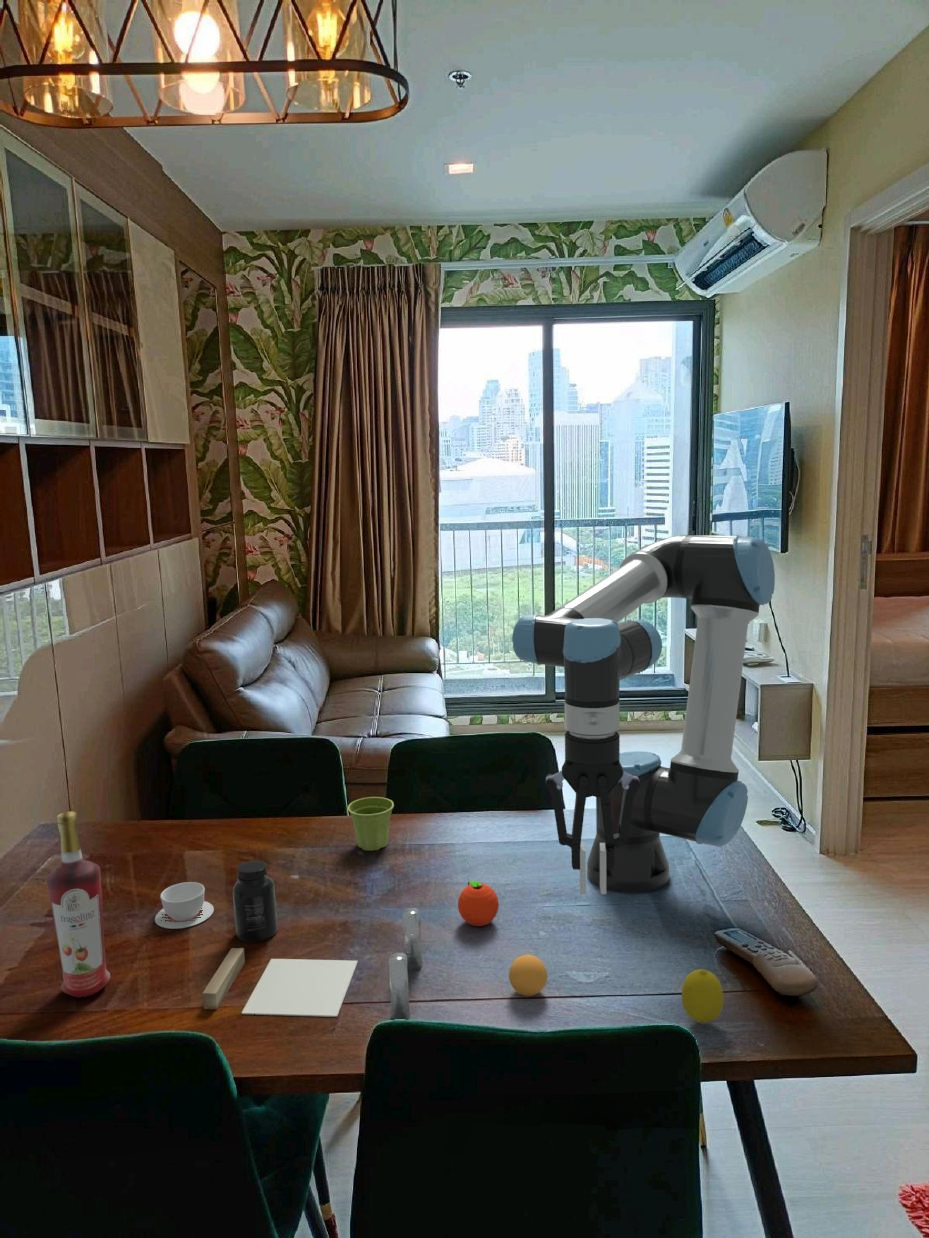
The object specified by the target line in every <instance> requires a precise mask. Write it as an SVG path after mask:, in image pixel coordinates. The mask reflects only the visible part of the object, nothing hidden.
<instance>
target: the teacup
mask: <svg viewBox="0 0 929 1238" xmlns="http://www.w3.org/2000/svg"><path fill="white" fill-rule="evenodd" d="M205 891H206V889H205V886H204V885H203V884H202V883H199V882H195V881H193V882H192V881H187V882H185V881H184V882H180V883H176V884H173V885H170V886H168V887H167V888H165V889H164V890H163V891H162V892H160V895H159V896H160V897H159V898H160V901H161V905H162V907H163V908H161V909H160V910H159V911H158V912H157V913H156V914H155V917H154V922H155V924H156V925H157V926H159V927H161V928H165V929H173V930H174V929H176V930H177V929H186V928H189V927H193V926H196V925H199V924H201V923H203V922H204V921H206V920H208V919H209V918H210V917H211V916H212V914H214V911H215V910H214V909H215V908H214V905H213V904H211V903H210V902H209V901H205ZM201 908H202V909H201ZM200 910H203V911H202V913H200V914H203V915H200V916H196V915H197V914H198V913H199V911H200ZM162 914H163V915H162ZM165 914H167V915H168V916H169V917H171V918H172V919H173V920H176V921H180V922H169V921H166V922H165V920H170V919H168V918H167V919H166V918H162V917H168V916H165ZM195 916H196V917H201V918H196V919H192V918H193V917H195ZM172 919H171V920H172ZM161 920H162V921H161ZM185 920H188V921H186V922H185ZM189 920H193V921H189ZM194 920H195V921H194ZM181 921H182V922H181ZM183 921H184V922H183Z"/></svg>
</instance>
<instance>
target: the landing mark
mask: <svg viewBox="0 0 929 1238" xmlns="http://www.w3.org/2000/svg"><path fill="white" fill-rule="evenodd" d="M358 962H359V961H358V960H344V959H343V960H341V959H340V960H339V959H336V960H335V959H304V958H303V959H298V958H297V959H296V958H295V959H294V958H271V959H270V960H269V962H268V964H267V966H266V968H265V970H264V972H263V973H262V975H261V977H260V979H259V980H258V982H257V984H256V986H255V988H254V989H253V991H252V993H251V995H250V997H249V998H248V1000H247V1002H246V1004H245V1006H244V1008H243V1009H242V1011H241V1015H253V1016H254V1014H255V1015H257V1016H258V1015H259V1016H261V1015H262V1016H263V1015H264V1016H290V1017H323V1018H325V1017H326V1018H327V1017H328V1018H331V1017H332V1018H337V1017H338V1016H339V1013H340V1011H341V1008H342V1005H343V1002H344V1000H345V997H346V994H347V992H348V990H349V987H350V984H351V981H352V980H353V977H354V974H355V971H356V968H357V966H358Z"/></svg>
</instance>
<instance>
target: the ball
mask: <svg viewBox="0 0 929 1238" xmlns="http://www.w3.org/2000/svg"><path fill="white" fill-rule="evenodd" d="M508 979H509V983H510V985H511V987H512V988H513V990H514V991H515V992H517V993H518V994H519V995H522V996H526V997H531V996H532V997H533V996H535V995H538V994H539V993H541V991H543V989H544V988H545V987H546V984H547V980H548V971H547V968H546V965H545V964H544V963H543V961H542V960H541V959H540V958H539V957H537V956H535V955H532V954H524V955H523V954H522V955H520V956H518V957H517V958H515V959H514V961H513V962H512V963H511V965H510V967H509V970H508Z"/></svg>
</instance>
